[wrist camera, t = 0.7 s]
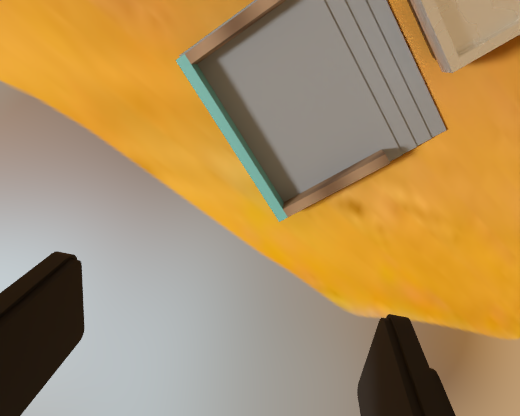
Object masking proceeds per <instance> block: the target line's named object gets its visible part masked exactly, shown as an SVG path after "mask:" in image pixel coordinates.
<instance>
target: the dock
mask: <svg viewBox="0 0 520 416" xmlns="http://www.w3.org/2000/svg"><path fill="white" fill-rule="evenodd" d="M176 62H177V63H178V65H179V66H180V68H181V69H182V71H183V72H184V74H185V76H186V77H187V79H188V80H189V82H190V83H191V85H192V86H193V88H194V90H195V91H196V93H197V94H198V96H199V97H200V99H201V100H202V102H203V104H204V105H205V107H206V108H207V110H208V111H209V113H210V114H211V116H212V118H213V119H214V121H215V122H216V124H217V125H218V127H219V129H220V130H221V132H222V133H223V135H224V136H225V138H226V139H227V141H228V143H229V144H230V146H231V147H232V149H233V150H234V152H235V153H236V155H237V157H238V158H239V160H240V161H241V163H242V164H243V166H244V167H245V169H246V171H247V172H248V174H249V175H250V177H251V178H252V180H253V181H254V183H255V185H256V186H257V188H258V189H259V191H260V192H261V194H262V195H263V197H264V199H265V200H266V202H267V203H268V205H269V206H270V208H271V209H272V211H273V213H274V214H275V216H276V217H277V219H278V220H279V222H280V221H282V220H284V219H285V218H287V217H289V216H291V215H293V214H295V213H297V212H299V211H301V210H303V209H304V208H306V207H308V206H310V205H312V204H314V203H316V202H318V201H320V200H322V199H323V198H325V197H327V196H329V195H331V194H333V193H335V192H337V191H339V190H341V189H342V188H344V187H346V186H348V185H350V184H352V183H354V182H356V181H358V180H359V179H361V178H363V177H365V176H367V175H369V174H371V173H373V172H375V171H377V170H378V169H380V168H382V167H384V166H386V165H388V164H390V161H392V160H394V159H396V158H398V157H399V156H401V155H402V154H404V153H406V152H408V151H410V150H412V149H414V148H415V147H417V146H418V145H420V144H422V143H424V142H426V141H428V140H429V139H431V138H432V137H434V136H436V135H438V134H440V133H442V132H444V131H445V130H446V128H445V126H444V123H443V121H442V119H441V117H440V115H439V113H438V111H437V108H436V106H435V104H434V102H433V100H432V98H431V95H430V93H429V91H428V89H427V87H426V85H425V82H424V80H423V78H422V76H421V74H420V72H419V70H418V67H417V65H416V63H415V61H414V59H413V57H412V54H411V52H410V50H409V48H408V46H407V44H406V42H405V39H404V37H403V35H402V33H401V31H400V29H399V26H398V24H397V22H396V20H395V18H394V16H393V14H392V11H391V9H390V7H389V5H388V3H387V1H386V0H254V1H253V2H252V3H250V4H249V5H248V6H246V7H245V8H244V9H242V10H241V11H240V12H238V13H237V14H235V15H234V16H233V17H231V18H230V19H229V20H227V21H226V22H225V23H223V24H222V25H220V26H219V27H218V28H216V29H215V30H214V31H212V32H211V33H210V34H208V35H207V36H206V37H204V38H203V39H201V40H200V41H199V42H197V43H196V44H195V45H193V46H192V47H191V48H189V49H188V50H186V51H185V52H184V53H182V54H181V55H180V58H178V59H177V60H176Z"/></svg>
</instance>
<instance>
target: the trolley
mask: <svg viewBox="0 0 520 416" xmlns="http://www.w3.org/2000/svg"><path fill="white" fill-rule="evenodd" d="M407 1H408V3H409V6H410V8H411V10H412V12H413V15H414V17H415V19H416V21H417V23H418V26H419V28H420V30H421V32H422V35H423V37H424V39H425V41H426V44H427V46H428V48H429V50H430V52H431V55H432V56H433V58H434V59H435V60H437V62H438V64H439V66H440V68H441V71H442V72H449V73H453V72H455V71H457V70H458V69H460V68H462V67H464V66H465V65H467V64H469V63H471V62H472V61H474V60H476V59H478V58H479V57H481V56H483V55H485V54H486V53H488V52H490V51H492V50H493V49H495V48H497V47H499V46H500V45H502V44H504V43H506V42H507V41H509V40H511V39H513V38H514V37H516V36H518V35H520V0H407Z"/></svg>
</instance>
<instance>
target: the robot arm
mask: <svg viewBox="0 0 520 416" xmlns="http://www.w3.org/2000/svg"><path fill="white" fill-rule="evenodd" d="M82 289H83V287H82V266H81V262H80V261H79V260H77V257H76V256H75V255H72V254H67V253H62V252H54V253H52V254H51V255H50V256H48V257H47V258H46V259H44V260H43V261H42V262H40V263H39V264H38V265H36V266H35V267H34V268H33V269H31V270H30V271H29V272H27V273H26V274H25V275H23V276H22V277H21V278H19V279H18V280H17V281H16V282H14V283H13V284H12V285H10V286H9V287H8V288H6V289H5V290H4V291H2V292H1V293H0V416H20V415H21V414H22V413H23V411H24V410H25V409H26V408H27V407H28V405H29V404H30V403H31V402H32V400H33V399H34V398H35V397H36V395H37V394H38V393H39V392H40V390H41V389H42V388H43V386H44V385H45V384H46V383H47V381H48V380H49V379H50V378H51V376H52V375H53V374H54V373H55V371H56V370H57V369H58V368H59V366H60V365H61V364H62V363H63V361H64V360H65V359H66V358H67V356H68V355H69V354H70V353H71V351H72V350H73V349H74V348H75V346H76V345H77V344H78V343H79V341H80V340H81V338H82V336H83V333H84V313H83V312H84V310H83V290H82ZM358 401H359V407H360V414H361V416H455V413H454V411H453V409H452V406H451V404H450V402H449V399H448V397H447V395H446V392H445V390H444V388H443V385H442V383H441V380H440V378H439V376H438V374H437V372H436V371H435V370H434V369H431V368H429V365H428V363H427V360H426V358H425V356H424V353H423V351H422V348H421V346H420V343H419V341H418V338H417V336H416V334H415V331H414V329H413V326H412V324H411V321H410V319H409V318H407V317H401V316H396V315H391V314H389V315H388V316H387V317H386V318H381V319H380V321H379V323H378V326H377V329H376V332H375V335H374V339H373V342H372V344H371V347H370V351H369V354H368V356H367V359H366V362H365V365H364V368H363V371H362V374H361V378H360V380H359V384H358Z"/></svg>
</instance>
